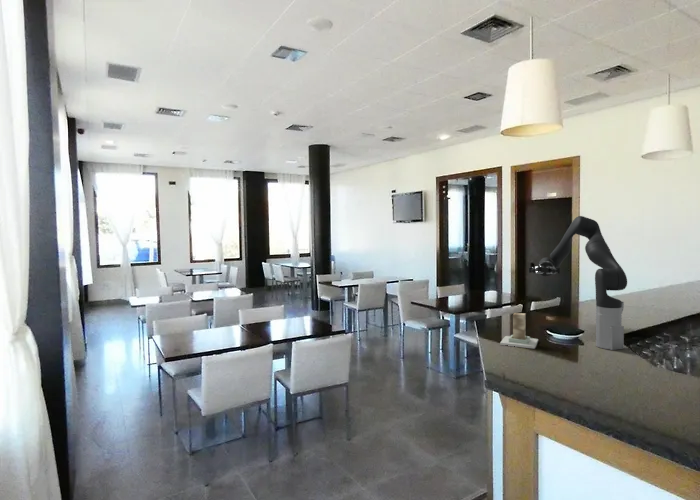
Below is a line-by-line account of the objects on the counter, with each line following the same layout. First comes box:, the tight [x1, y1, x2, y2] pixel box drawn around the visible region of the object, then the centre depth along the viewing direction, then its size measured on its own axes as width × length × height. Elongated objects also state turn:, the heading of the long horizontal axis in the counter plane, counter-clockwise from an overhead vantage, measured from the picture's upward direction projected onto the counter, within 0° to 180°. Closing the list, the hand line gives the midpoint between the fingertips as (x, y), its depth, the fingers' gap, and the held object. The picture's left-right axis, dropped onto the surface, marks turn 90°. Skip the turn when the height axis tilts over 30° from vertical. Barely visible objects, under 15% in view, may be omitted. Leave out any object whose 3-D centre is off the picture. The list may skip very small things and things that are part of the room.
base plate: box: [499, 334, 539, 350], centre depth 188 cm, size 14×14×2 cm
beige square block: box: [512, 312, 527, 340], centre depth 188 cm, size 5×5×12 cm
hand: (543, 271), depth 206 cm, fingers open, 8 cm apart
